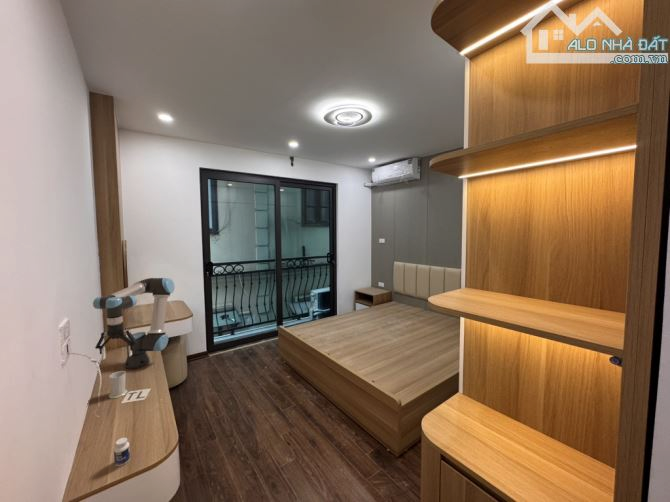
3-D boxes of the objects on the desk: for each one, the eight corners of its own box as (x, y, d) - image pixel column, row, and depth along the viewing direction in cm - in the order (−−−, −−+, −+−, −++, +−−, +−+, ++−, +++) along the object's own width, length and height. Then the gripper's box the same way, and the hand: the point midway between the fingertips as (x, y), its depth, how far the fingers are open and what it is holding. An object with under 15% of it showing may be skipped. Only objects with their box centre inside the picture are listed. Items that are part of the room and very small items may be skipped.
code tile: (128, 392, 172) (128, 391, 172) (151, 388, 176) (151, 388, 175) (120, 403, 160) (120, 403, 160) (144, 400, 164) (144, 399, 164)
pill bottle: (114, 469, 117) (113, 447, 116) (115, 460, 121) (113, 439, 120) (130, 462, 120) (129, 441, 119) (130, 454, 124) (129, 434, 124)
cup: (117, 397, 164) (116, 378, 163) (106, 396, 166) (105, 377, 165) (130, 390, 172) (129, 371, 171) (119, 388, 174) (118, 370, 173)
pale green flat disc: (112, 391, 172) (112, 390, 172) (129, 388, 175) (129, 387, 175) (106, 399, 163) (106, 398, 163) (124, 397, 166) (124, 396, 166)
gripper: (86, 327, 159) (89, 363, 161) (137, 323, 167) (139, 356, 169) (92, 323, 166) (95, 357, 168) (141, 319, 174) (143, 351, 176)
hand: (117, 357), depth 168 cm, fingers open, 13 cm apart
